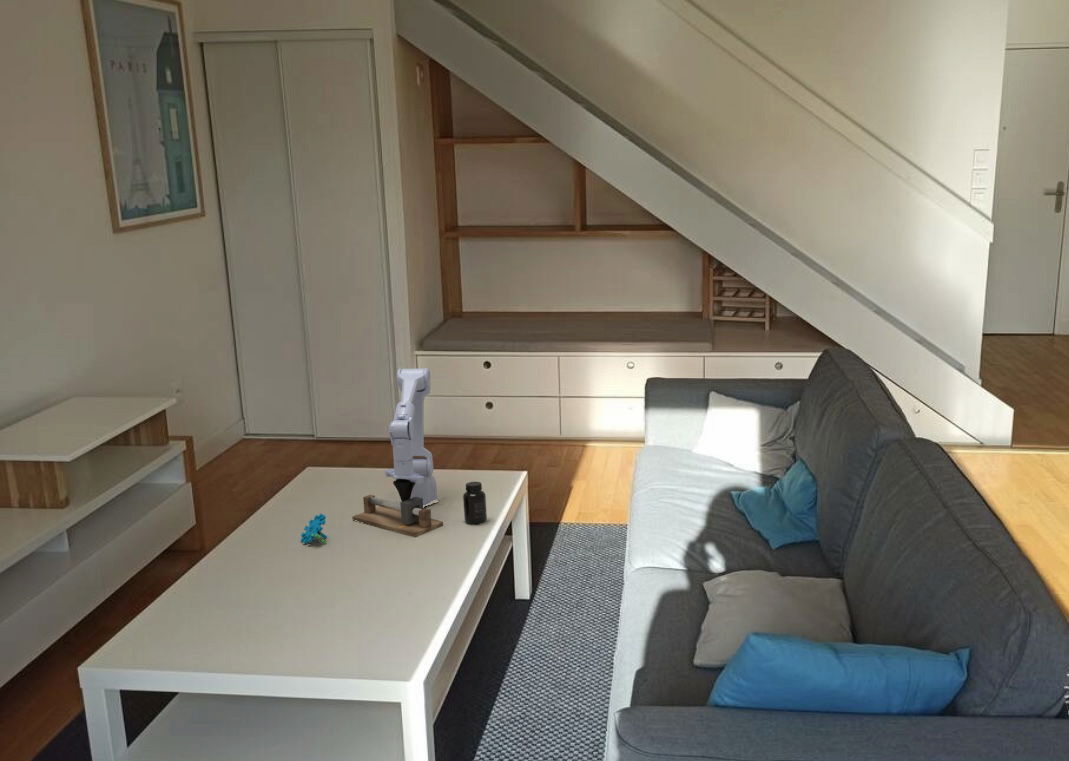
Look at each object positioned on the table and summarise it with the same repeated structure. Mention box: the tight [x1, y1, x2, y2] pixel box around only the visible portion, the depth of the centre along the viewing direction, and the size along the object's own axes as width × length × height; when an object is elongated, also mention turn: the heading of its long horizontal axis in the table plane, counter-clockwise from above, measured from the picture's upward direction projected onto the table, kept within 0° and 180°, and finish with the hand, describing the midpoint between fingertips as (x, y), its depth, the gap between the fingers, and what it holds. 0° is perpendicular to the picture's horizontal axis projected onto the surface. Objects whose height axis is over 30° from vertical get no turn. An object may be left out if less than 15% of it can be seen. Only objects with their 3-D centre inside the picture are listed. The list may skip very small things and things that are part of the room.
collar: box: [399, 497, 424, 525], centre depth 300 cm, size 6×3×6 cm, turn 142°
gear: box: [300, 513, 328, 545], centre depth 293 cm, size 11×6×10 cm
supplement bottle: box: [462, 481, 488, 526], centre depth 303 cm, size 7×7×12 cm
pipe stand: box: [351, 494, 444, 538], centre depth 305 cm, size 12×27×6 cm, turn 52°
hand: (405, 502), depth 302 cm, fingers closed
